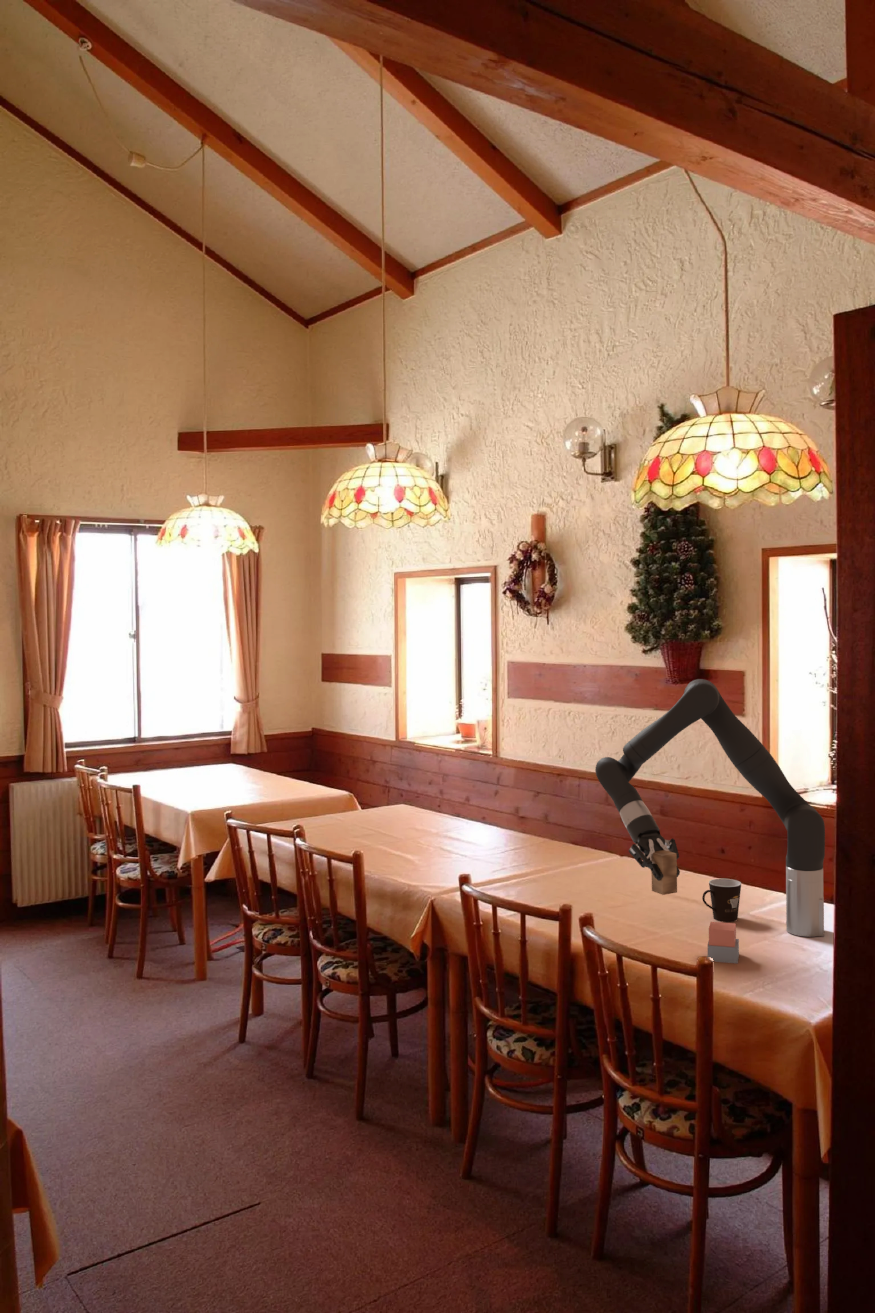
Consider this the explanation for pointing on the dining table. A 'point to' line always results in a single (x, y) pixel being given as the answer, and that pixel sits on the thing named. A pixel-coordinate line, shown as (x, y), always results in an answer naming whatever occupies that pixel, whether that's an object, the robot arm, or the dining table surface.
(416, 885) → the dining table surface
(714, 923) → the tower brick
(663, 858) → the pillar brick
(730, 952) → the tower bottom brick
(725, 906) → the coffee mug
